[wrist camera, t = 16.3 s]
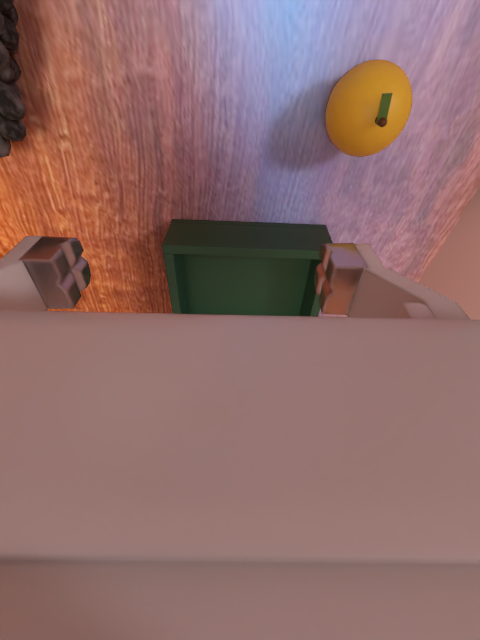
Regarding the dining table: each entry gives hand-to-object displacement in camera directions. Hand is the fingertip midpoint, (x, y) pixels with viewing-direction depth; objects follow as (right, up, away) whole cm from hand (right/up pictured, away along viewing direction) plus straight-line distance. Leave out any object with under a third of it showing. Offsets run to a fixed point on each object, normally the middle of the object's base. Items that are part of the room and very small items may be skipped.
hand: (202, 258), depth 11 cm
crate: (+2, +2, +27) cm, 27 cm away
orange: (+11, +15, +14) cm, 23 cm away
